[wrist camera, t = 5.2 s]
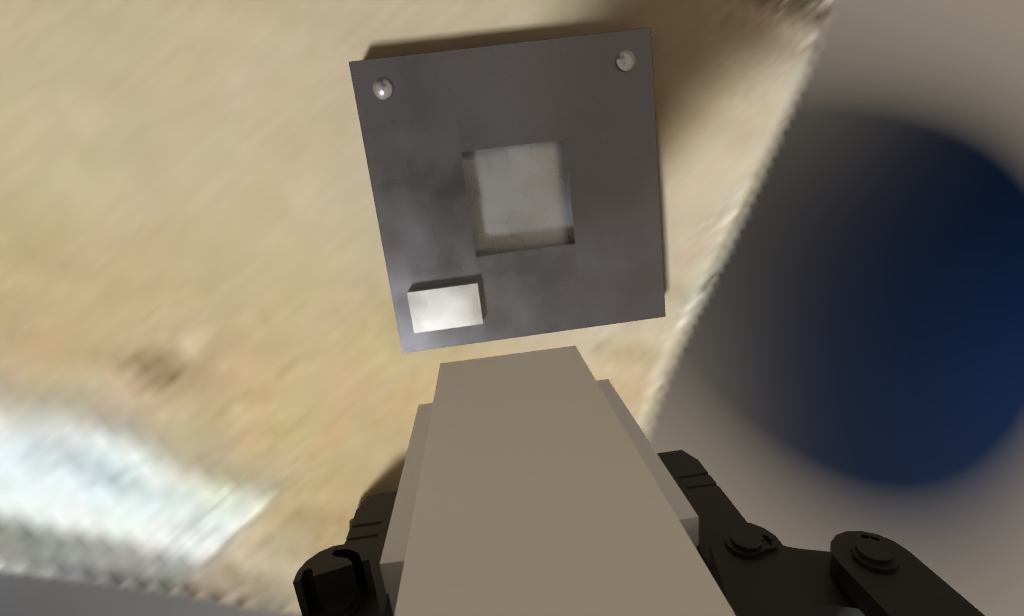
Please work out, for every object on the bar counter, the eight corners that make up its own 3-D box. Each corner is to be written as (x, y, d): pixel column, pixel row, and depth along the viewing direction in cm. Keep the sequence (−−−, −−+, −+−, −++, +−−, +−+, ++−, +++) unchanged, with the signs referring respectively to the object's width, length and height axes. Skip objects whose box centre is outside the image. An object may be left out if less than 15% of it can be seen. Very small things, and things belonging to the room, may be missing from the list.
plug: (440, 363, 16) (323, 1005, 4) (575, 345, 16) (904, 898, 4) (459, 481, 17) (420, 1272, 5) (585, 464, 18) (860, 1179, 5)
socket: (357, 71, 27) (345, 58, 25) (638, 39, 28) (655, 23, 25) (406, 343, 31) (400, 356, 28) (653, 309, 32) (669, 319, 29)
